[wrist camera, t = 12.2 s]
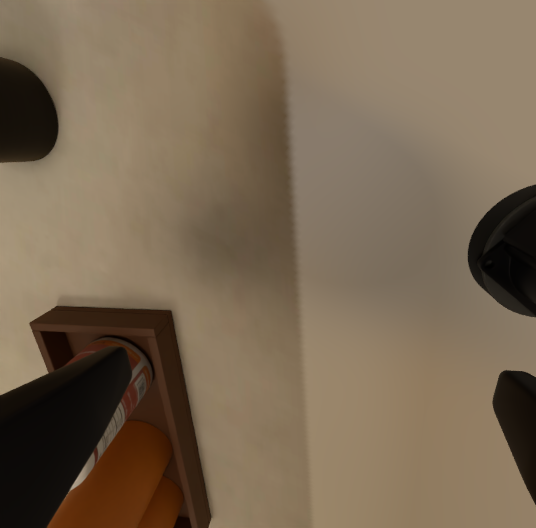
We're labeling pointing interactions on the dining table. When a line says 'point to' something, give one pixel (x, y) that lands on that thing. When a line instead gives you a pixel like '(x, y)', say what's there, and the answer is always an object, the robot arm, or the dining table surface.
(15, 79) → the charcoal tin
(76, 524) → the bottle
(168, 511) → the bottle
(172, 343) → the walnut tray
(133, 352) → the pill bottle
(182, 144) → the dining table surface
